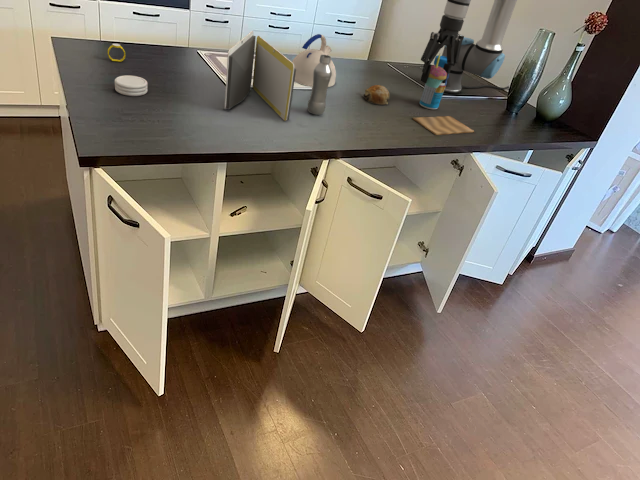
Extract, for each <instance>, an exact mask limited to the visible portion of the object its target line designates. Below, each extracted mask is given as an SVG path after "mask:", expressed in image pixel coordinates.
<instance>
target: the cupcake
mask: <svg viewBox="0 0 640 480" xmlns="http://www.w3.org/2000/svg"><path fill="white" fill-rule="evenodd" d="M437 56H438V59H437V63H436V65H432V67H431V70H430V73H429V76H428V80H427V83H426V85H427V86H429V87H432V88H438V87H439V85H440V84H441V82H442V81H443V80H445V79H446V77H447V72H446V71H445V70H444V69H443V68H441V67H439V66H438V63H439V59H440V56H441V53H439V54H438V55H437Z"/></svg>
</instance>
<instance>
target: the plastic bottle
mask: <svg viewBox="0 0 640 480" xmlns="http://www.w3.org/2000/svg"><path fill="white" fill-rule="evenodd" d="M330 60H332V57H331V56H330V55H321V56H320V59H319V61H320V63H319V64H318V65H317V66H316V67H315V68H314V72H313V87H311V92H310V96H309V99H308V102H307V111H308V112H309V113H310V114H312V115H317V116H318V115H323V113H324V112H325V110H326V107H327V101H326V100H327V93H328V88H329V87H328V85H329V82H330V79H331V75H332V71H331V68H330V65H329V63H330Z"/></svg>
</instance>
